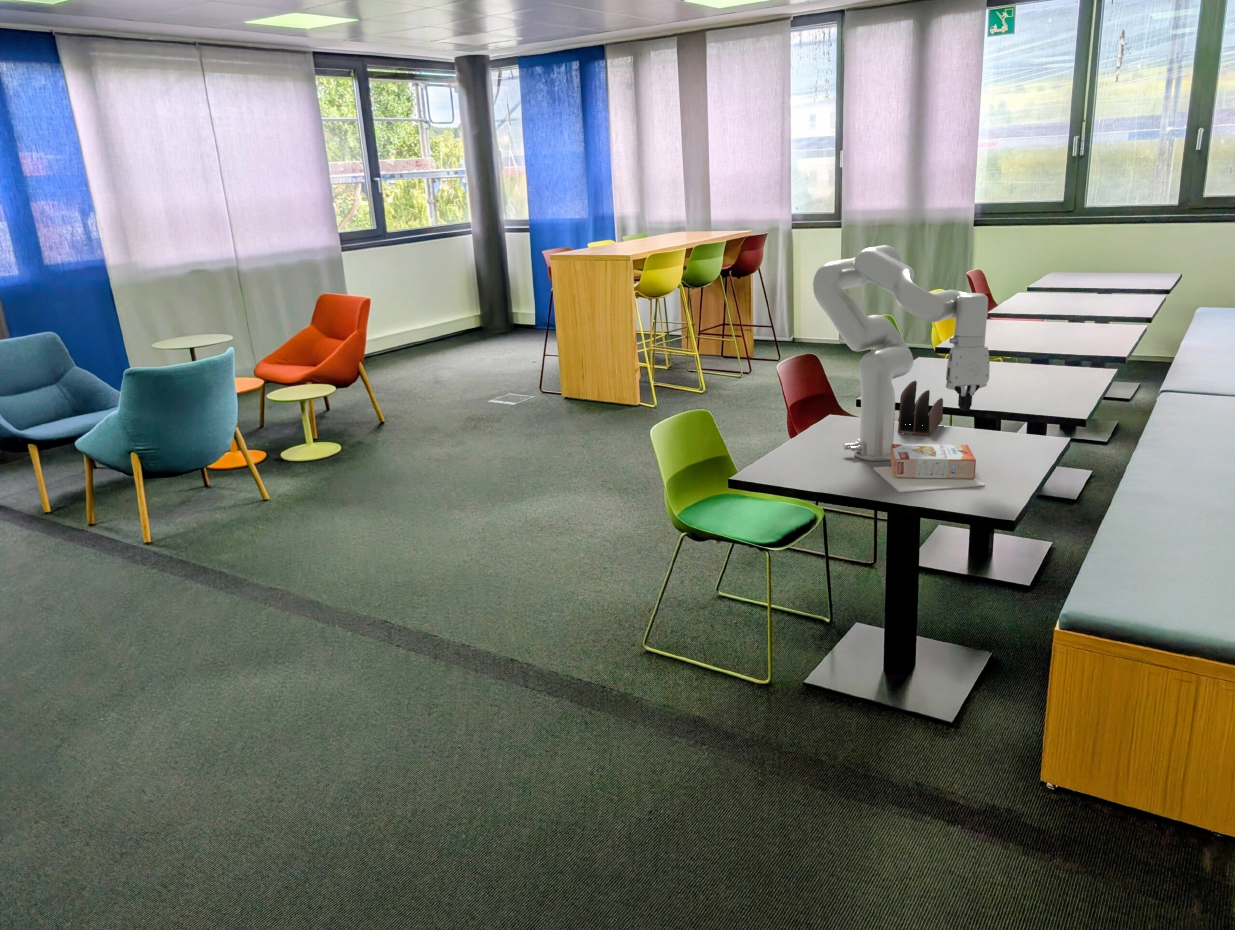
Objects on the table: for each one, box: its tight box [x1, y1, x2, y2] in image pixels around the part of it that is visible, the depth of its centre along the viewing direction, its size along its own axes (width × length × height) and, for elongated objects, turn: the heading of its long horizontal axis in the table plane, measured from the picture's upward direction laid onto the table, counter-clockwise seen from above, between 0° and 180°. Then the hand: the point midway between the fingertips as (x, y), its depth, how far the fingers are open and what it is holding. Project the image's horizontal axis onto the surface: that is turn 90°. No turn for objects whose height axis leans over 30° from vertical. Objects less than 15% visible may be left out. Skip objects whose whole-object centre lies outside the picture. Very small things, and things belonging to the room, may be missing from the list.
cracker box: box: [890, 443, 977, 479], centre depth 251 cm, size 14×6×21 cm
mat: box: [873, 465, 986, 493], centre depth 249 cm, size 23×20×1 cm
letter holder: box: [897, 380, 944, 437], centre depth 292 cm, size 10×20×14 cm, turn 150°
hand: (964, 409), depth 244 cm, fingers closed
